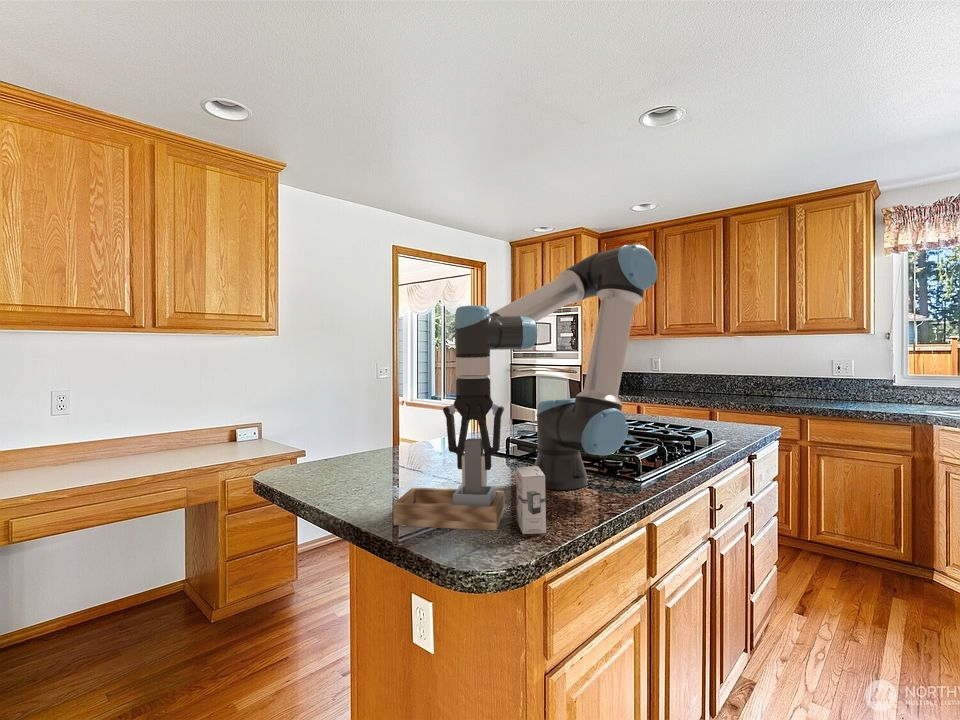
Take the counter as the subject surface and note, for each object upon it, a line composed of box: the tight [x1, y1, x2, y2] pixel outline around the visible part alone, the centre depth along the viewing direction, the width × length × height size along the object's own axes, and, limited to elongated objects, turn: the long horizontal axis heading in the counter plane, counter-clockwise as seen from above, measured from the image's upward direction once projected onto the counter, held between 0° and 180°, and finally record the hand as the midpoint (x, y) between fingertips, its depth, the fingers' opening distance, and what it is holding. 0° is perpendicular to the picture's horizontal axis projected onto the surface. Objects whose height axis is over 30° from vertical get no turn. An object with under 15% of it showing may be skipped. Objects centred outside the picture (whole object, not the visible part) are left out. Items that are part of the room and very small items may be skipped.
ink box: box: [515, 465, 547, 535], centre depth 104 cm, size 9×5×12 cm, turn 5°
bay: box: [392, 487, 505, 531], centre depth 111 cm, size 22×13×4 cm, turn 80°
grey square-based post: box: [453, 438, 497, 506], centre depth 110 cm, size 8×8×15 cm
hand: (474, 484), depth 110 cm, fingers closed on grey square-based post, 3 cm apart
